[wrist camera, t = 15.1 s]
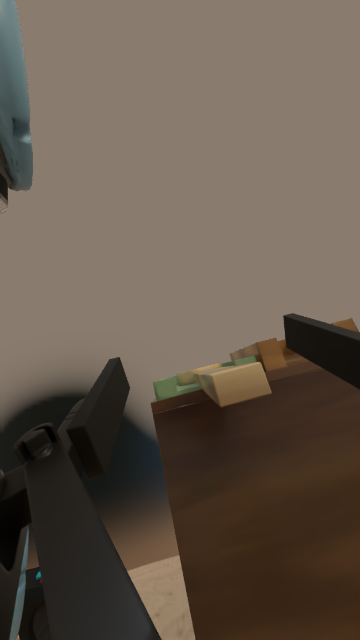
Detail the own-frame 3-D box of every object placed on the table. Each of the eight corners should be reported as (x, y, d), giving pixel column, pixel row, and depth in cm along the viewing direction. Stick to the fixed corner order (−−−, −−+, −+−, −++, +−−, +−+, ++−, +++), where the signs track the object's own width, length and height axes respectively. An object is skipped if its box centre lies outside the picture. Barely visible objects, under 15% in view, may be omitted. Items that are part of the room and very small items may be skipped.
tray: (167, 390, 29) (165, 378, 30) (231, 373, 30) (228, 362, 30) (156, 401, 18) (152, 382, 18) (261, 373, 18) (254, 355, 19)
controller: (82, 661, 23) (75, 560, 26) (-8, 680, 24) (-6, 578, 27) (100, 617, 28) (92, 534, 30) (22, 634, 28) (22, 550, 31)
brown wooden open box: (235, 372, 30) (229, 353, 31) (297, 355, 30) (290, 338, 31) (266, 371, 18) (256, 342, 19) (366, 345, 19) (351, 318, 20)
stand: (219, 649, 22) (164, 391, 29) (401, 590, 22) (300, 354, 30) (258, 970, 10) (150, 402, 18) (630, 820, 11) (372, 344, 19)
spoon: (329, 378, 7) (310, 337, 7) (161, 424, 7) (152, 378, 7) (219, 374, 29) (216, 363, 29) (179, 384, 28) (177, 374, 29)
